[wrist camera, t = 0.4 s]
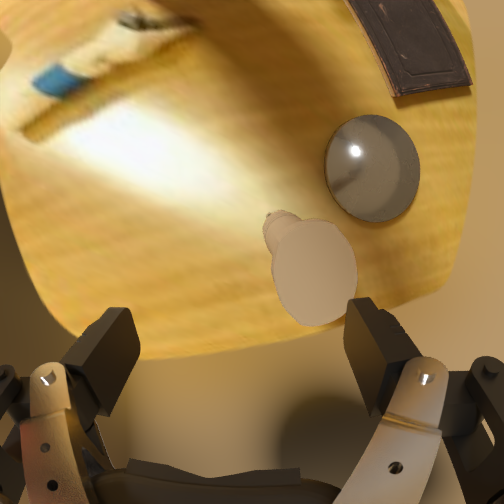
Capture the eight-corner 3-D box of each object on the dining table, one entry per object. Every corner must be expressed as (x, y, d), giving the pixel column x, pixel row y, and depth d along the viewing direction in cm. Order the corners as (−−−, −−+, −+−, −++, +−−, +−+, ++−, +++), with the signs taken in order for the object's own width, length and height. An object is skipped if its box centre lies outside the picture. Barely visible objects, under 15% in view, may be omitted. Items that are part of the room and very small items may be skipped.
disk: (337, 100, 27) (341, 98, 25) (422, 139, 28) (428, 139, 27) (311, 204, 30) (314, 205, 29) (399, 231, 31) (404, 233, 30)
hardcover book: (387, 99, 27) (397, 96, 25) (309, -41, 20) (313, -50, 18) (465, 86, 26) (475, 84, 24) (398, -38, 20) (404, -44, 17)
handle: (291, 189, 29) (346, 212, 15) (306, 245, 31) (362, 310, 17) (246, 202, 29) (261, 237, 15) (263, 258, 31) (289, 335, 17)
